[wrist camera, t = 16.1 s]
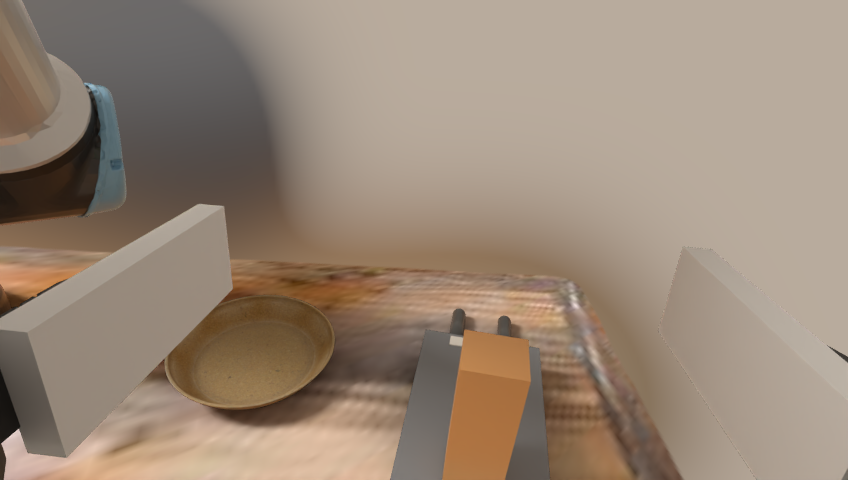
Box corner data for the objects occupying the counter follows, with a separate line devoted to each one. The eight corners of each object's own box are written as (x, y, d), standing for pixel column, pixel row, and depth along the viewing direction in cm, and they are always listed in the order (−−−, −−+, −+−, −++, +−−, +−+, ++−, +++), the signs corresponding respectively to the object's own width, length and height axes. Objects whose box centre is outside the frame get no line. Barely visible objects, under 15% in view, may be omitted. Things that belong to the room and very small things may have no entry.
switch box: (545, 569, 31) (555, 543, 29) (381, 535, 32) (383, 508, 30) (530, 327, 52) (536, 305, 50) (432, 311, 53) (435, 289, 52)
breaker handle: (500, 496, 31) (530, 381, 26) (441, 484, 32) (459, 369, 26) (501, 450, 34) (528, 339, 29) (447, 440, 35) (464, 329, 30)
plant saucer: (354, 326, 50) (354, 307, 49) (300, 444, 38) (298, 422, 36) (225, 304, 52) (221, 285, 51) (131, 410, 39) (124, 387, 38)
